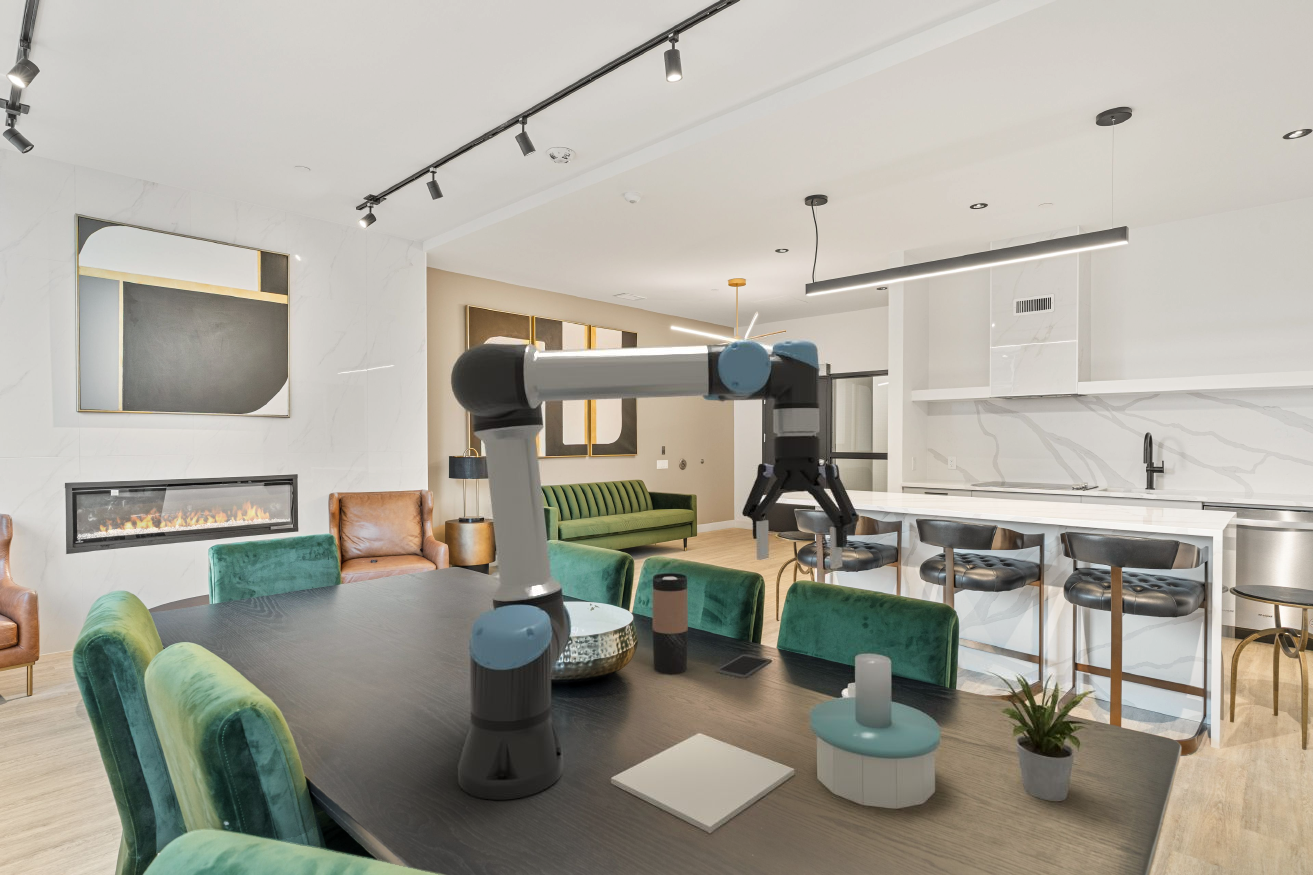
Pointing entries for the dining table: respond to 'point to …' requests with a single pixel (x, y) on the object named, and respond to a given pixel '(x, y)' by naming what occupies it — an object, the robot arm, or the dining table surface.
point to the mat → (703, 780)
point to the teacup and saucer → (849, 691)
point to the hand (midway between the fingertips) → (798, 563)
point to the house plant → (1044, 743)
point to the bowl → (876, 777)
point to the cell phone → (743, 666)
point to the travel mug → (670, 623)
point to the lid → (874, 717)
